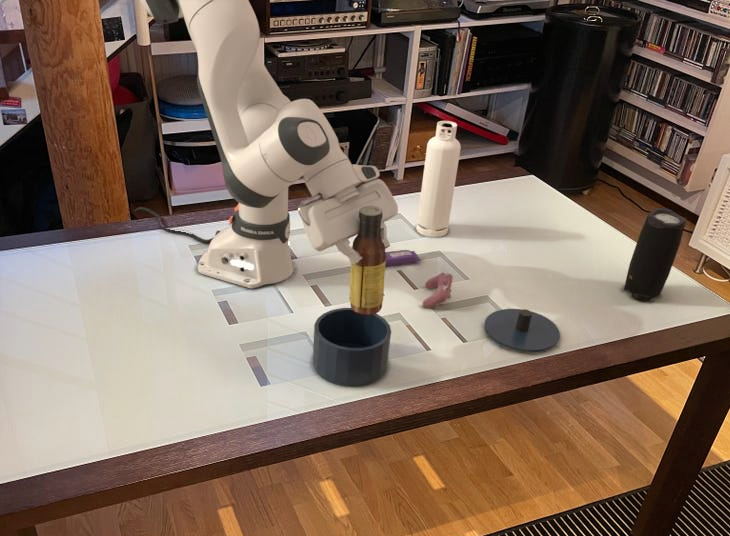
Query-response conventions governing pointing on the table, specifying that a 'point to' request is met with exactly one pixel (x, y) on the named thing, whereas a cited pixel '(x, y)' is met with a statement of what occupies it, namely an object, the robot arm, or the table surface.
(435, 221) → the white gas cylinder
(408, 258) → the snack package
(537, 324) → the lid
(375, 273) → the sauce bottle
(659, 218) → the portable speaker
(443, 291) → the video game controller
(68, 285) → the table surface
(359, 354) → the round dark pot
